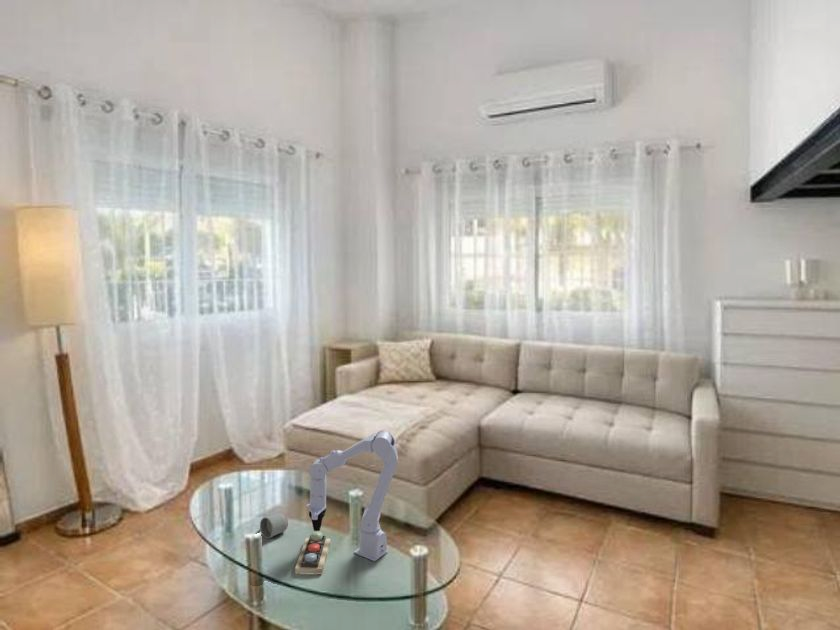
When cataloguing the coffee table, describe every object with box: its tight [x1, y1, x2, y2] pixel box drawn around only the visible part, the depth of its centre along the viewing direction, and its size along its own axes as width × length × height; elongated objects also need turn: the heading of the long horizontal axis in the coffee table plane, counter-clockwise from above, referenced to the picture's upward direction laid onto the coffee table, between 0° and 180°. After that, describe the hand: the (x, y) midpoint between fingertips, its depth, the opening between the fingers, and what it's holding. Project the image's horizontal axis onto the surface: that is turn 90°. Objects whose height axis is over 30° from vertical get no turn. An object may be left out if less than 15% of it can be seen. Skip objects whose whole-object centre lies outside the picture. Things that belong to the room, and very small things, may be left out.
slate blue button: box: [305, 553, 317, 563], centre depth 178 cm, size 4×4×2 cm
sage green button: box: [310, 531, 324, 542], centre depth 191 cm, size 4×4×2 cm
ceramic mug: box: [259, 512, 289, 539], centre depth 201 cm, size 11×8×8 cm
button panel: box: [294, 534, 331, 575], centre depth 185 cm, size 20×9×3 cm, turn 2°
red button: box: [308, 543, 320, 552], centre depth 185 cm, size 4×4×2 cm
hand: (317, 529), depth 191 cm, fingers closed
